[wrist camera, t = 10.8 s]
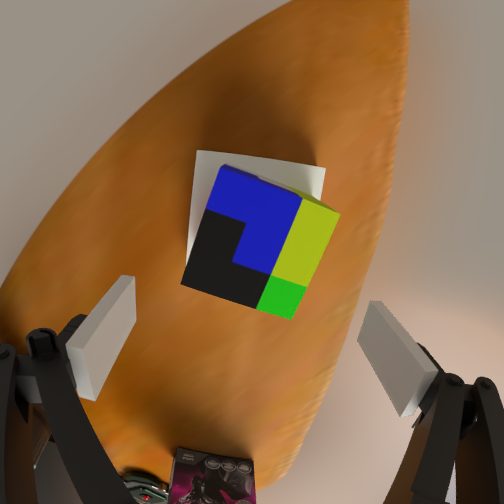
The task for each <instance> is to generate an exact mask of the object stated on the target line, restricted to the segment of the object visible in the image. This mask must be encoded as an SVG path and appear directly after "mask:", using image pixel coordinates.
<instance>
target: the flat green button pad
mask: <svg viewBox="0 0 504 504" xmlns="http://www.w3.org/2000/svg"><path fill="white" fill-rule="evenodd" d="M122 481H123V482H124V484H125V485H126V487H127V488H128V490H129V491H130V493H131V494H132V496H133V497H134V499H135V500H136V501H139V502H141V503H143V504H167V500H168V493H169V487H167V485H166V484H164V483H161V481H159V480H157V479H155V478H153V477H151V476H149V475H147V474H142V473H137V472H130V473H127V474H124V476H122Z"/></svg>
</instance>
